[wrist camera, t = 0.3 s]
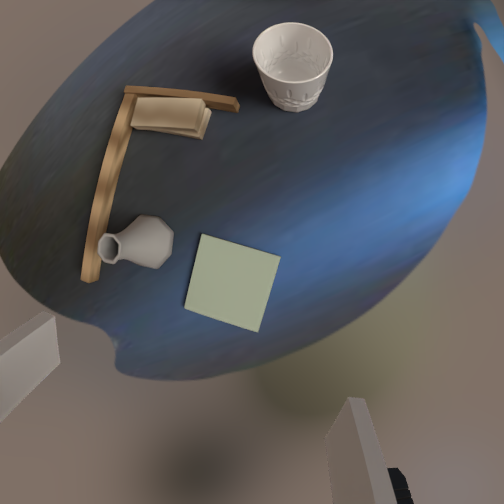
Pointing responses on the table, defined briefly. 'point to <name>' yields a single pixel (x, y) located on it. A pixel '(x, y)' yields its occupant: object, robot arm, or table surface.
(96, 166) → the table surface
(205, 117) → the offcut low
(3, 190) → the table surface
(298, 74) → the white cup
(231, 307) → the coaster
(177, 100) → the offcut top
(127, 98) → the corner fence
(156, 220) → the flask
